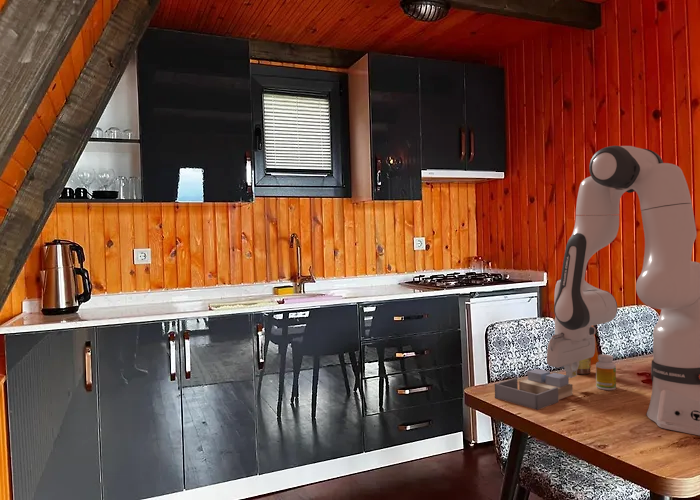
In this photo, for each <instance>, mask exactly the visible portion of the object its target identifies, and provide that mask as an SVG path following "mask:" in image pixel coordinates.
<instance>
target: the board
mask: <svg viewBox="0 0 700 500" xmlns="http://www.w3.org/2000/svg"><path fill="white" fill-rule="evenodd" d="M573 387H574V386H573V384H572V383H569V384H568V385H565V386H562V387H557V388H558V401H559V400H562V399H564V398H567V397H570V396H572V395H573V394H574V393H573V389H574V388H573ZM553 388H556V386H552V385H548V384H546V382H543V383H539V382H535V381H531V380H528V378H526V379H523V380H520V381H518V390H522V391H526V392H530V393H534V394H539V393H541V392H544V391H547V390H550V389H553Z"/></svg>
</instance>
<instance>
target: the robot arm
mask: <svg viewBox="0 0 700 500" xmlns="http://www.w3.org/2000/svg"><path fill="white" fill-rule="evenodd" d="M591 157H592V158H591V159H590V162H589V166H588V167H589V168H588V170H589V174H590V176H588V177H586V178H584V179H583V180H581V182H580V184H579V187H578V192H577V198H576V208H575V221H574V222H575V223H574V227H573V231H572V233H571V236H569V239H568V240H567V243H566V245H565V250H564V256H563V262H562V269H561V275H560V279H558V280H557V281H556V284H555V286H554V287H555V288H554V296H553V297H554V298H553V299H554V301H553V302H554V305H553V312H554V316H555V318H554V334H553V335H552V336H551V337H550V339H549V341H548V344H547V350H546V363H547V365H548V367H552V368H558V369H559V368H562V367H563V368H564V370H565V375H568V377H569V379H572V378H575V377H577V376H578V374H577V369H578V367H579V361H581V360H584V359H588V358H590V359H591V358H593V357H594V355H595V353H596V337H595V335H596V330H597V329H596V327H595V326H597V325H602V324H606V323H609V322H612V321H613V320H614V319H615V318H616V316H617V314H618V303H617V300H616V298H615V296H614V295H613V294H612V293H611V292H609V291H607V290H602V289H601V288H599V287H597V286H596V287H595V285H594V286H593V285H592V284H590V283H588V282H587V281H586V280H585V278H586V272H587V266H588V263H589V260H590V259H591V258H592V257H593V255H595V254H596V253H598V251H600V250H601V249H603V248H605V247H608V246H609V245H610V244H611V243H612V242H613V241H614V240H615V239H616V238H617V236H618V233H619V227H620V202H621V201H620V200H621V198H622V196H623V194H624V193H629V194H631V193H634V192H635V193H636V194H637V196H638V200H639V208H640V212H641V213H640V214H641V220H642V227H643V233H644V236H643V237H644V255H643V261H642V262H643V263H642V269H641V272H640V275H639V276H638V277H637V280H636V284H635V291H636V294H637V296H638V299H639V300H640V301H641V303H643V304H644V305H646V306H648V307H649V308H653V309H656V310H660V313H659V318H658V320H657V321H656V322H657V323H656V324H655V326H654V328H653V332H652V349H653V351H652V352H653V353H652V354H653V357H652V360H651V363H650V364H651V367H650V369H651V370H650V374H651V375H650V376H651V381H652V388H651V395H650V396H651V397H650V401H649V404H648V405H649V406H648V408H647V412H646V416H647V418H648V419H650V420H651V421H652V422H655V423H656V425H657V426H658V427H659V428H661V429H665V430H671V431H675V432H681V433H686V434H689V435H695V436H700V262H697V261H693V260H692V257H693V255H692V253H693V246H694V243H695V240H696V238H697V233H698V232H697V227H696V222H695V221H696V220H695V215H694V214H695V213H694V210H693V209H694V207H693V203H692V198H691V194H690V189H689V185H688V183H687V180H686V177H685V175H684V172H683V170H682V168H681V167H680V166H678V165H677V164H673V163H669V162H664V161H663V159H662V157H661V156H660V155H659V154H658V153H657V152H655V151H653V150H651V149H649V148H641V147H636V146H633V145H610V146H606V147H603V148H601V149H599V150H598V151H596V152H595V153H594V154H593V155H592V156H591Z"/></svg>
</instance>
